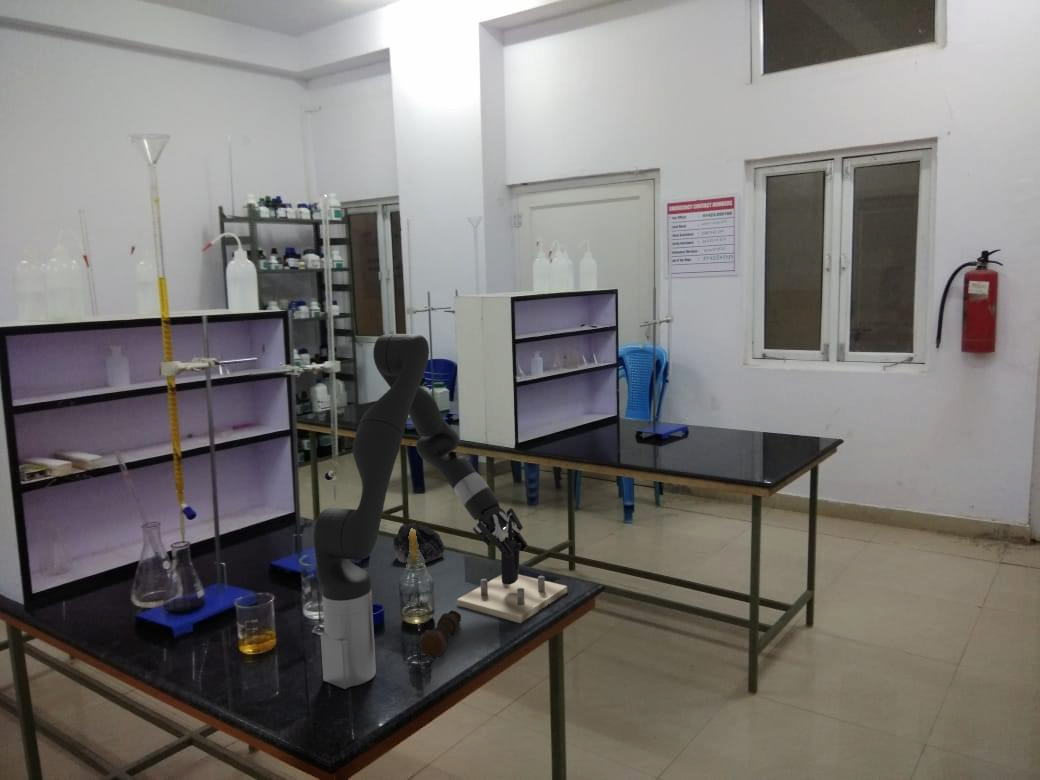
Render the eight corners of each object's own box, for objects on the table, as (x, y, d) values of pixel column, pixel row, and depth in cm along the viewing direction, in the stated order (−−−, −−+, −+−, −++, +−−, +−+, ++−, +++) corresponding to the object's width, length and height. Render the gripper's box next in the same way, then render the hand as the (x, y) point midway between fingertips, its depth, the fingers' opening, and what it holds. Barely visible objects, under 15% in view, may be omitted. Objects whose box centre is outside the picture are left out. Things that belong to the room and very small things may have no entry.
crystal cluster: (451, 562, 210) (451, 526, 210) (404, 568, 204) (404, 531, 204) (433, 552, 222) (433, 517, 222) (387, 557, 216) (388, 521, 215)
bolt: (458, 632, 171) (435, 663, 157) (439, 620, 172) (414, 649, 158) (470, 612, 170) (448, 641, 156) (451, 599, 171) (427, 627, 156)
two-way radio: (507, 576, 187) (506, 516, 185) (524, 578, 185) (524, 518, 183) (499, 584, 182) (498, 523, 180) (517, 587, 180) (516, 525, 178)
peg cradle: (520, 623, 171) (519, 601, 170) (457, 605, 181) (456, 585, 180) (567, 592, 187) (566, 572, 186) (506, 577, 197) (506, 558, 196)
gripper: (465, 494, 179) (509, 553, 174) (502, 479, 190) (543, 535, 185) (449, 512, 182) (490, 571, 177) (485, 497, 194) (526, 552, 189)
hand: (517, 552), depth 181 cm, fingers closed on two-way radio, 5 cm apart
